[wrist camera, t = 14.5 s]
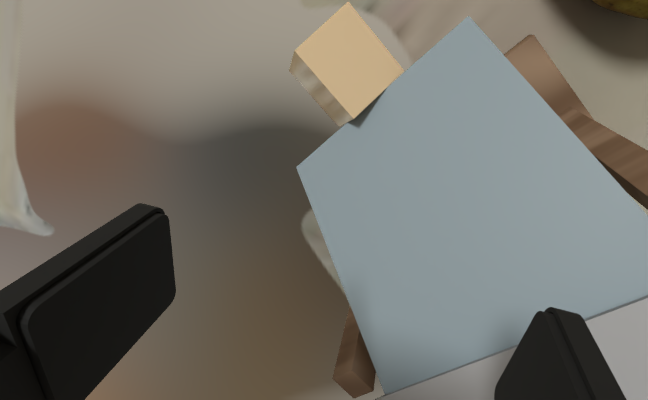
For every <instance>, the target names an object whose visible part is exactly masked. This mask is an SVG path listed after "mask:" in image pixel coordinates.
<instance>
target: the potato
mask: <svg viewBox="0 0 648 400" xmlns="http://www.w3.org/2000/svg"><path fill="white" fill-rule="evenodd" d="M592 1H593V2H595V3H596V4H598V5H599V6H602V7H604V8H606V9H609V10H612V11H616V12H620V13H623V14H626V15H630V16H633V17H637V18H643V19H648V0H592Z"/></svg>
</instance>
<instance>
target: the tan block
mask: <svg viewBox="0 0 648 400" xmlns="http://www.w3.org/2000/svg"><path fill="white" fill-rule="evenodd" d="M289 71H290V72H291V74H292V75H293V76H294V77H295V78H296V79H297V80H298V81H299V83H300V84H301V85H302V86H303V87H304V88H305V89H306V91H307V92H308V93H309V94H310V95H311V96H312V97H313V98H314V100H315V101H316V102H317V103H318V104H319V105H320V106H321V108H322V109H324V111H325V112H326V113H327V114H328V115H329V116H330V118H331V119H332V120H333V121H334V122H335V123H336V124H337V126H338V127H340V126H342V125H344V124H345V123H347V122H349V121H351V120H353V119H354V118H355V117H356V116H357V115H358V114H359V113H361V112H362V111H363V110H364V109H365V108H366V107H367V106H368V105H369V104H370V103H371V102H372V101H373V100H374V99H375V98H376V97H377V96H379V95H380V94H381V93H382V92H383V91H384V90H385V89H386V88H387V87H388V86H389V85H390V84H391V83H392V82H393V81H394V80H395V79H396V78H398V77H399V75H401V74H402V73H403V72H404V70H403V69H402V67H401V66H400V65H399V64H398V62H397V61H396V60H395V59H394V57H393V56H392V55H391V54H390V53H389V51H388V50H387V49H386V48H385V46H384V45H383V44H382V43H381V41H380V40H379V39H378V38H377V36H376V35H375V34H374V33H373V32H372V30H371V29H370V28H369V27H368V26H367V24H366V23H365V22H364V20H363V19H362V18H361V17H360V15H359V14H358V13H357V12H356V10H355V9H354V8H353V7H352V6H351V4H350V3H349V2H347V3H346V4H345V5H344V6H343V7H342V8H340V9H339V10H338V11H337V12H336V13H335V14H334V15H333V16H332V17H331V18H330V19H328V20H327V21H326V22H325V23H324V24H323V25H322V26H321V27H320V28H319V29H318V30H316V31H315V32H314V33H313V34H312V35H311V36H310V37H309V38H308V39H307V40H306V41H304V43H302V44H301V45H300V46H299V47H298V48H297V49H296V50H295V51H294V54H293V58H292V62H291V65H290V69H289Z"/></svg>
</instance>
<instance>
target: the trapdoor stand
mask: <svg viewBox="0 0 648 400" xmlns="http://www.w3.org/2000/svg"><path fill="white" fill-rule="evenodd" d="M504 56H505V57H506V58H507V59H508V60H509V61H510V63H511V64H512V65H513V66H514V67H515V68H516V69H517V70H518V72H519V73H520V74H521V75H522V76H523V77H524V78H525V79H526V80H527V82H528V83H529V84H530V85H531V86H532V87H533V88H534V89H535V91H536V92H537V93H538V94H539V95H540V96H541V97H542V98H543V99H544V101H545V102H546V103H547V104H548V105H549V106H550V107H551V108H552V110H553V111H554V112H555V113H556V114H557V115H558V116H559V117H560V118H561V120H562V121H563V122H564V123H565V124H566V125H567V126H568V127H569V129H570V130H571V131H572V132H573V133H574V134H575V135H576V136H577V138H578V139H579V140H580V141H581V142H582V143H583V144H584V145H585V146H586V148H587V149H588V150H589V151H590V152H591V153H592V154H593V155H594V157H595V158H596V159H597V160H598V161H599V162H600V163H601V164H602V165H603V167H604V168H605V169H606V170H607V171H608V172H609V173H610V174H611V176H612V177H613V178H614V179H615V180H616V181H617V182H618V183H619V184H620V186H621V187H622V188H623V189H624V190H625V191H626V192H627V193H628V194H629V195H631V196H632V197H633V198H634V199H635V200H637V201H638V202H639V203H640V204H641V205H643V206H644V207H645V208H646V209H648V151H647V150H645V149H644V148H642V147H640V146H638V145H637V144H635V143H633V142H631V141H630V140H628V139H626V138H624V137H623V136H621V135H619V134H617V133H615V132H614V131H612V130H610V129H608V128H607V127H605V126H603V125H601V124H600V123H598V122H596V121H594V119H593V118H592V116H591V115H590V114H589V112H588V111H587V109H586V108H585V107H584V105H583V104H582V102H581V101H580V100H579V98H578V97H577V95H576V94H575V92H574V91H573V90H572V88H571V87H570V85H569V84H568V83H567V81H566V80H565V78H564V77H563V76H562V74H561V73H560V71H559V70H558V68H557V67H556V66H555V64H554V63H553V61H552V60H551V59H550V57H549V56H548V54H547V53H546V52H545V50H544V49H543V47H542V46H541V44H540V43H539V42H538V40H537V39H536V37H535V36H534V35H528V36H527V37H526V38H525V39H523V40H522V41H521V42H519V43H518V44H517V45H516V46H514V47H513V48H512V49H510V50H509V51H508V52H507V53H505V54H504ZM375 373H376V370H375V368H374V365H373V363H372V360H371V357H370V355H369V352H368V350H367V347H366V345H365V342H364V339H363V337H362V334H361V332H360V329H359V327H358V324H357V322H356V319H355V316H354V314H353V311H352V309H351V306H350V307H349V311H348V315H347V319H346V324H345V328H344V332H343V337H342V341H341V345H340V349H339V353H338V358H337V362H336V366H335V370H334V374H333V380H335V381H336V382H337V383H338V384H339V385H340V386H341V387H342V388H343V389H344V390H345V391H346V392H347V393H348V394H349V395H351V396H352V397H353V398H356V397H359V396H361V395H364V394H367V393H369V392H372V391H373V390H374V381H375Z"/></svg>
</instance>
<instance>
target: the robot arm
mask: <svg viewBox="0 0 648 400" xmlns="http://www.w3.org/2000/svg"><path fill="white" fill-rule="evenodd" d="M175 293H176V287H175V278H174V267H173V257H172V246H171V236H170V226H169V219H168V217H167V216H166V215H165V213H164V211H163V210H162V209H161V208H158V207H154V206H150V205H146V204H141V203H140V204H137V205H135V206H133V207H132V208H130V209H128V210H127V211H125V212H124V213H122V214H121V215H119V216H117V217H116V218H114V219H113V220H111V221H110V222H108V223H106V224H105V225H103V226H102V227H100V228H98V229H97V230H95V231H94V232H92V233H90V234H89V235H87V236H86V237H84V238H83V239H81V240H79V241H78V242H77V243H75V244H73V245H72V246H70V247H68V248H67V249H65V250H64V251H62V252H61V253H59V254H57V255H56V256H54V257H53V258H51V259H49V260H48V261H46V262H45V263H43V264H42V265H40V266H38V267H37V268H35V269H34V270H32V271H30V272H29V273H27V274H26V275H24V276H23V277H21V278H19V279H18V280H16V281H15V282H13V283H11V284H10V285H8V286H7V287H5V288H4V289H2V290H0V400H85V398H86V397H87V396H88V395H89V394H90V393H91V392H92V391H93V390H94V388H95V387H96V386H97V385H98V384H99V383H100V382H101V381H102V380H103V379H104V377H105V376H106V375H107V374H108V373H109V372H110V371H111V370H112V369H113V367H114V366H115V365H116V364H117V363H118V362H119V361H120V360H121V358H122V357H123V356H124V355H125V354H126V353H127V352H128V351H129V350H130V349H131V347H132V346H133V345H134V344H135V343H136V342H137V341H138V339H140V337H141V336H142V335H143V334H144V333H145V332H146V331H147V330H148V329H149V327H150V326H151V325H152V324H153V323H154V322H155V321H156V320H157V318H158V317H159V316H160V315H161V314H162V313H163V312H164V311H165V310H166V309H167V307H168V306H169V305H170V304H171V302H172V301H173V299H174V297H175ZM494 400H627V399H626V398H625V396H624V394H623V392H622V390H621V388H620V386H619V384H618V383H617V381H616V379H615V377H614V375H613V373H612V371H611V369H610V368H609V366H608V364H607V362H606V360H605V358H604V356H603V355H602V353H601V351H600V349H599V347H598V345H597V343H596V341H595V340H594V338H593V336H592V334H591V332H590V330H589V328H588V326H587V325H586V323H585V321H584V319H583V318H582V316H581V315H579V314H577V313H573V312H569V311H565V310H561V309H557V308H554V307H549V308H547V309H546V310H545V311H544V312H543V311H538V312H537V313H536V314H535V316H534V317H533V319H532V321H531V323H530V325H529V326H528V328H527V330H526V332H525V334H524V335H523V337H522V339H521V341H520V343H519V344H518V346H517V348H516V350H515V352H514V353H513V355H512V357H511V359H510V361H509V363H508V364H507V366H506V368H505V370H504V372H503V373H502V375H501V377H500V379H499V381H498V382H497V384H496V387H495V392H494Z"/></svg>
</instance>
